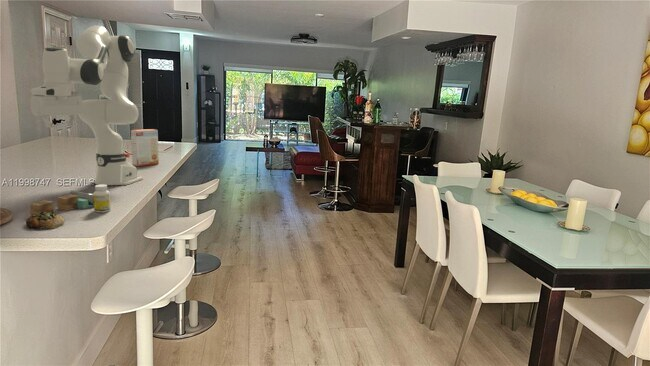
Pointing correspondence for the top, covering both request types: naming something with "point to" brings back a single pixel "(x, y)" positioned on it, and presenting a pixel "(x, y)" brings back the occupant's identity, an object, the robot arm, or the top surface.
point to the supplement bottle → (101, 198)
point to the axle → (84, 196)
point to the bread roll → (44, 221)
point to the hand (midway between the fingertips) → (60, 126)
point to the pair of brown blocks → (47, 206)
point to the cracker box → (144, 147)
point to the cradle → (83, 203)
